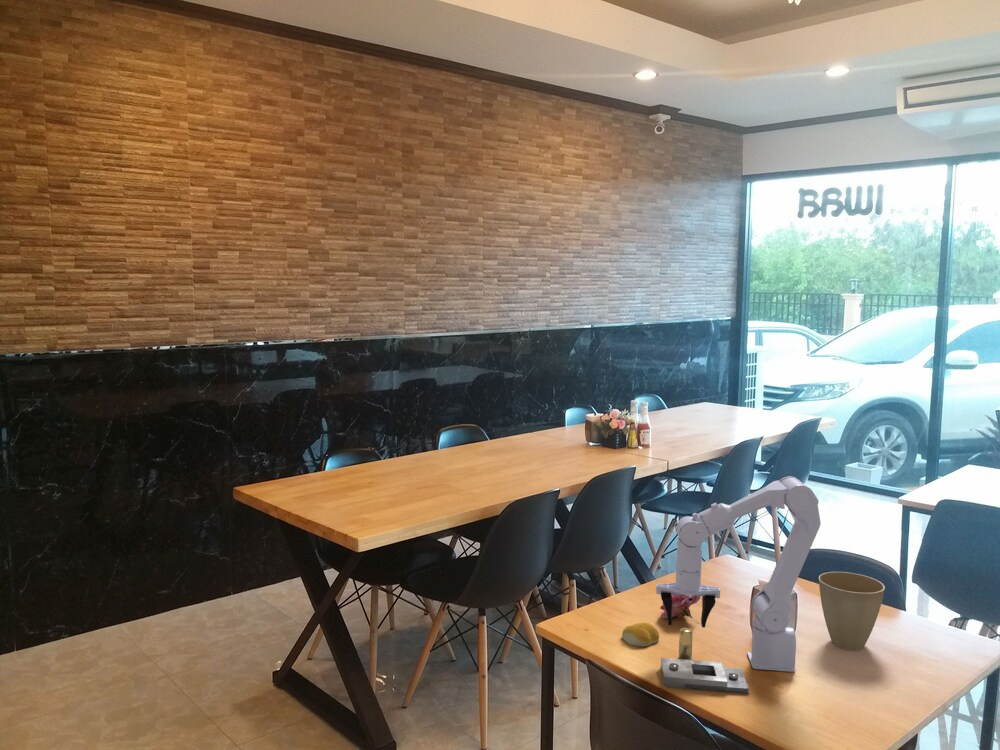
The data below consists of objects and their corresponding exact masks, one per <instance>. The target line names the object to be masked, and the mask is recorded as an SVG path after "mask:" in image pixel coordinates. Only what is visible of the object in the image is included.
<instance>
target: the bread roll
mask: <svg viewBox="0 0 1000 750" xmlns="http://www.w3.org/2000/svg"><path fill="white" fill-rule="evenodd" d="M621 636H622V639H623V641H624V642H626V643H628V644H629V645H631V646H636V647H647V646H650V645H652V644H655V643H656V644H657V642H659V641H660V633H659V631H658V629H657V628H656V626H654V624H651V623H648V622H637V623H634V624H632V625H628V626H626V627H624V629H623V630H622V633H621Z"/></svg>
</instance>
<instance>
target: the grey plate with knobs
mask: <svg viewBox="0 0 1000 750" xmlns="http://www.w3.org/2000/svg"><path fill="white" fill-rule="evenodd" d="M660 671H661V677H662V683H663V688H671V689H681V690H683V689H684V690H696V691H709V692H717V693H718V692H719V693H732V694H744V695H749V694H750V693H749V689H750V688H749V686H748V684H747V683H748V682H747V680H746V677H745V675H744V672H743V669H742V668H738V667H737V668H736V667H735V668H734V667H724V665H723V663H722V661H721V662H720V661H710V660H709V661H708V660H699V659H698V660H694V659H692V660H684V659H679V658H671V657H670V658H668V657H661V659H660Z"/></svg>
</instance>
